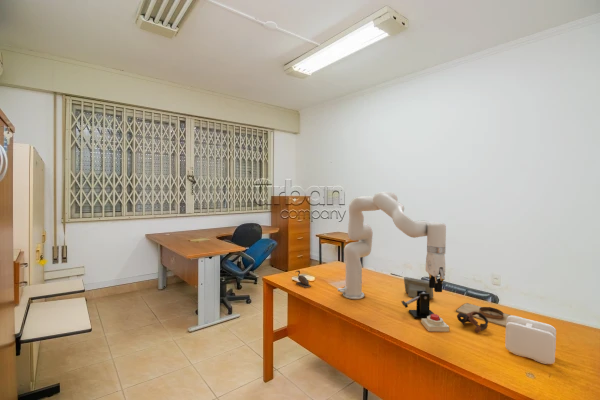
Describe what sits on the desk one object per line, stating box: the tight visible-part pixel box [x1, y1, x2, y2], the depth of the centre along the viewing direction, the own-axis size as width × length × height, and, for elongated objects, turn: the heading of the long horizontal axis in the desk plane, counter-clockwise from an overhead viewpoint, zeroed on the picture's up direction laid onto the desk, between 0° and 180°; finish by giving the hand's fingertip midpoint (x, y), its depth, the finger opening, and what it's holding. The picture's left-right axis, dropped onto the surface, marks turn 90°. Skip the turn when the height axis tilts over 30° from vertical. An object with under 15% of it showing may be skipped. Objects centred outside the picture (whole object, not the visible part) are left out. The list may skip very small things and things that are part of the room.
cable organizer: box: [504, 314, 557, 365], centre depth 107 cm, size 15×11×12 cm
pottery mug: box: [456, 311, 489, 333], centre depth 127 cm, size 12×10×8 cm
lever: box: [401, 292, 425, 309], centre depth 140 cm, size 12×5×2 cm, turn 88°
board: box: [455, 302, 512, 328], centre depth 140 cm, size 25×15×3 cm, turn 41°
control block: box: [420, 315, 450, 333], centre depth 128 cm, size 9×8×4 cm
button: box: [431, 313, 440, 321], centre depth 128 cm, size 4×4×2 cm
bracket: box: [408, 290, 435, 320], centre depth 140 cm, size 11×8×12 cm
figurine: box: [295, 270, 312, 289], centre depth 186 cm, size 14×4×9 cm, turn 38°
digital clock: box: [403, 276, 434, 299], centre depth 165 cm, size 16×9×11 cm, turn 39°
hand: (435, 289), depth 127 cm, fingers open, 4 cm apart
